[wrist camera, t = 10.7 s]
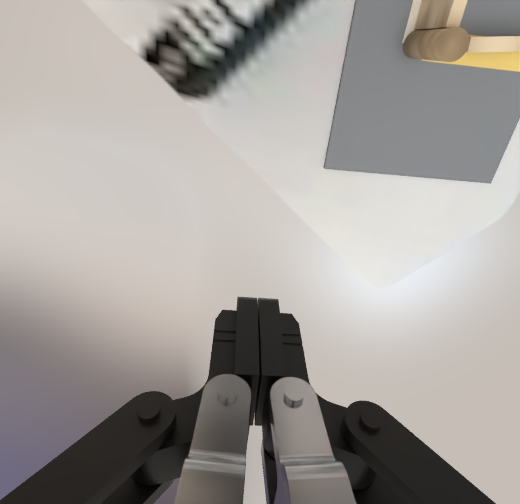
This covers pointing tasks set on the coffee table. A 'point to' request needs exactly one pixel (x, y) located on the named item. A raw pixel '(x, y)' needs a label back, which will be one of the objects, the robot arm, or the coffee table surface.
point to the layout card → (425, 97)
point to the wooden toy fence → (438, 32)
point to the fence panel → (494, 44)
